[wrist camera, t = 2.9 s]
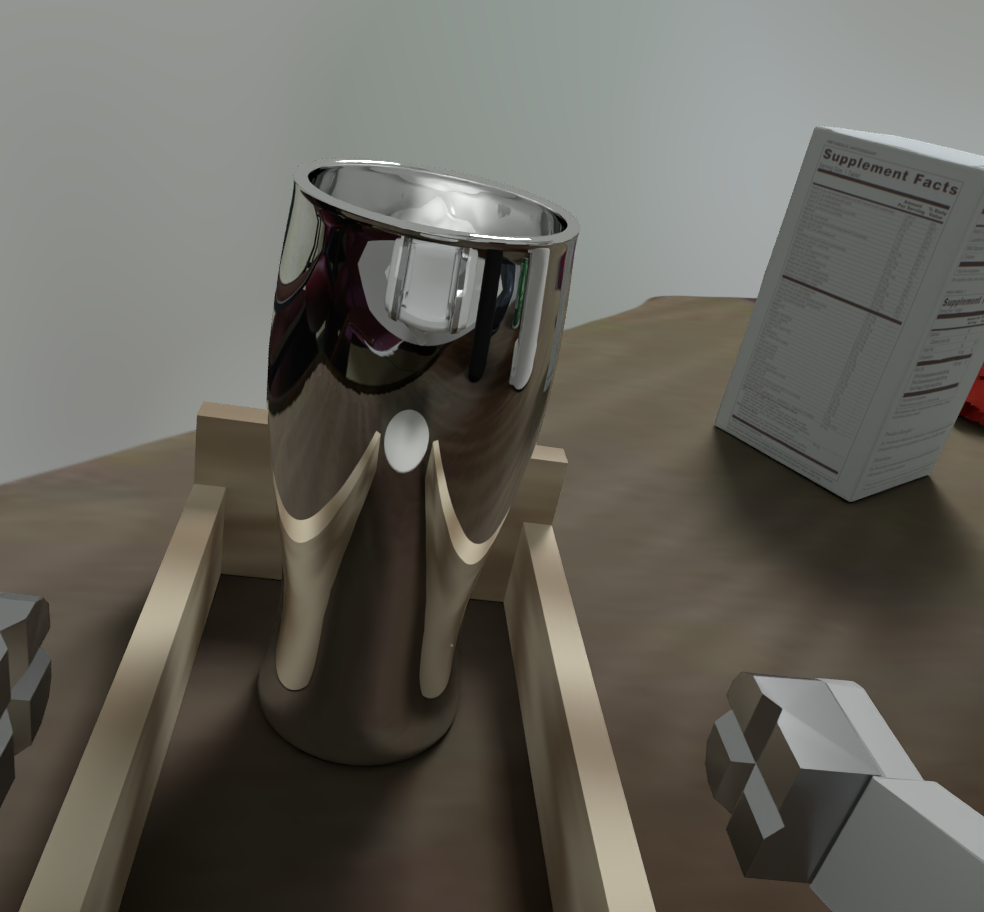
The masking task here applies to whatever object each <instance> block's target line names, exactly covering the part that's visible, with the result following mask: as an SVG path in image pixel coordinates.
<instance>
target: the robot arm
mask: <svg viewBox="0 0 984 912" xmlns="http://www.w3.org/2000/svg"><path fill="white" fill-rule="evenodd" d="M49 629H50V615H49V603H48V602H47V601H46V600H45V599H44V598H43V597H36V596H28V595H20V594H13V593H5V592H0V807H1V805H2V803H3V801H4V799H5V797H6V795H7V793H8V791H9V789H10V787H11V785H12V783H13V781H14V779H15V766H14V756H15V755H16V754H18V753H19V752H21V751H22V750H24V749H26V748H27V747H29V746H30V745H31V744H32V742H33V740H34V738H35V736H36V734H37V732H38V729H39V727H40V725H41V723H42V719H43V716H44V712H45V709H46V705H47V702H48V698H49V692H50V684H51V658H50V657H49V656H48V655H47V654H46V653H45V651H44V650H43V649H42V648H41V647H40V646H41V644H42V642H43V640H44V638H45V636H46V635H47V633H48V631H49ZM726 696H727V699H728V701H729V704H730V706H731V709H732V710H730V711H729V712H728V713H726V714H725V715H723V716H722V717H721V718H719V719H718V720H716V721H715V722H714V724H713V727H712V730H711V732H710V735H709V737H708V740H707V745H706V759H705V766H706V773H707V779H708V783H709V786H710V788H711V791H712V794H713V797H714V799H715V800H717V801H718V802H719V803H720V804H721V805H722V806H723V807H724V808H725V809H726V810H727V811H728V812H729V813H731V814H732V815H731V817H730V820H729V822H728V825H727V827H726V831H727V834H728V836H729V839H730V841H731V844H732V846H733V849H734V852H735V854H736V857H737V859H738V862H739V864H740V867H741V870H742V872H743V875H744V877H745V878H756V879H767V880H778V881H789V882H800V883H811V886H810V888H811V889H812V890H813V891H814V892H815V893H816V894H817V895H818V896H819V898H820V899H821V900H822V901H823V902H824V903H825V904H826V905H827V906H828V907H829V909H830V910H831V911H832V912H984V817H983V816H982V815H980V814H979V813H978V812H976V811H975V810H973V809H972V808H971V807H969V806H968V805H967V804H965V803H964V802H962V801H961V800H960V799H958V798H957V797H956V796H954V795H953V794H951V793H950V792H949V791H947V790H946V789H944V788H943V787H942V786H940V785H939V784H938V783H936V782H932V781H924V780H923V778H922V777H921V775H920V774H919V772H918V771H917V769H916V768H915V766H914V765H913V763H912V762H911V760H910V759H909V757H908V756H907V754H906V753H905V751H904V750H903V748H902V747H901V745H900V744H899V742H898V740H897V739H896V737H895V736H894V734H893V733H892V731H891V730H890V728H889V727H888V725H887V724H886V722H885V721H884V719H883V718H882V716H881V715H880V713H879V712H878V710H877V709H876V707H875V706H874V704H873V702H872V701H871V699H870V698H869V696H868V695H867V693H866V692H865V690H864V689H863V688H862V687H861V686H859V685H858V684H856V683H855V682H853V681H844V680H832V679H820V678H816V679H809V678H799V677H789V676H779V675H769V674H759V673H749V672H741V673H740V674H739V675H738V676H737V677H736V678H735V679H734V680H733V681H732V684H731V686H730V688H729V690H728V692H727V695H726Z"/></svg>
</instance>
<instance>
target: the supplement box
mask: <svg viewBox="0 0 984 912" xmlns="http://www.w3.org/2000/svg"><path fill="white" fill-rule="evenodd" d="M983 362H984V156H981V155H977V154H973V153H969V152H965V151H961V150H956V149H952V148H948V147H943V146H939V145H935V144H931V143H927V142H922V141H918V140H913V139H908V138H904V137H899V136H895V135H889V134H879V133H878V134H877V133H870V132H863V131H856V130H849V129H843V128H835V127H826V126H816V127H815V129H814V131H813V134H812V137H811V140H810V143H809V146H808V149H807V151H806V154H805V157H804V160H803V163H802V166H801V169H800V172H799V175H798V178H797V181H796V184H795V187H794V190H793V193H792V196H791V199H790V202H789V205H788V208H787V211H786V214H785V217H784V220H783V223H782V225H781V228H780V231H779V235H778V237H777V240H776V243H775V245H774V248H773V251H772V255H771V258H770V260H769V263H768V266H767V269H766V271H765V274H764V278H763V281H762V284H761V288H760V291H759V294H758V297H757V300H756V303H755V306H754V308H753V311H752V314H751V317H750V320H749V323H748V326H747V329H746V332H745V334H744V337H743V341H742V344H741V347H740V350H739V352H738V355H737V358H736V361H735V364H734V367H733V370H732V373H731V376H730V379H729V382H728V385H727V387H726V390H725V393H724V396H723V399H722V402H721V405H720V408H719V411H718V414H717V417H716V420H715V426H717V427H719V428H721V429H722V430H724V431H726V432H728V433H729V434H731V435H733V436H735V437H737V438H738V439H740V440H742V441H744V442H745V443H747V444H749V445H751V446H752V447H754V448H756V449H758V450H759V451H761V452H763V453H765V454H766V455H768V456H770V457H772V458H773V459H775V460H777V461H779V462H780V463H782V464H784V465H786V466H787V467H789V468H791V469H793V470H794V471H796V472H798V473H800V474H801V475H803V476H805V477H807V478H808V479H810V480H812V481H814V482H815V483H817V484H819V485H820V486H822V487H824V488H826V489H828V490H829V491H831V492H833V493H835V494H836V495H838V496H840V497H842V498H844V499H845V500H847V501H849V502H852V501H856V500H858V499H861V498H864V497H867V496H870V495H872V494H875V493H878V492H881V491H884V490H886V489H889V488H892V487H895V486H897V485H900V484H903V483H906V482H909V481H912V480H914V479H917V478H920V477H923V476H926V475H929V474H931V473H932V471H933V468H934V466H935V464H936V462H937V460H938V458H939V455H940V453H941V451H942V449H943V447H944V445H945V443H946V441H947V438H948V436H949V434H950V432H951V430H952V428H953V426H954V424H955V421H956V419H957V417H958V415H959V413H960V411H961V409H962V407H963V404H964V402H965V400H966V398H967V396H968V394H969V392H970V390H971V387H972V385H973V383H974V381H975V379H976V377H977V375H978V373H979V371H980V368H981V366H982V364H983Z"/></svg>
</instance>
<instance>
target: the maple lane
mask: <svg viewBox="0 0 984 912" xmlns="http://www.w3.org/2000/svg"><path fill="white" fill-rule="evenodd" d="M567 465H568V461H567V458H566V456H565V453H564V450H563V449H560V448H552V447H545V446H537V445H536V446H535V449H534V452H533V454H532V457H531V459H530V462H529V464H528V467H527V470H526V472H525V475H524V477H523V480H522V482H521V485H520V488H519V490H518V492H517V495H516V497H515V499H514V501H513V504H512V506H511V508H510V510H509V512H508V515H507V517H506V519H505V521H504V523H503V526H502V528H501V530H500V532H499V534H498V537H497V539H496V541H495V543H494V545H493V547H492V549H491V551H490V554H489V556H488V558H487V560H486V562H485V564H484V566H483V569H482V571H481V573H480V576H479V578H478V580H477V583H476V585H475V587H474V590H473V592H472V594H471V597H470V599H479V600H489V601H499V602H504V608H505V614H506V620H507V627H508V633H509V639H510V645H511V652H512V658H513V664H514V670H515V676H516V683H517V689H518V695H519V701H520V708H521V714H522V720H523V726H524V733H525V739H526V745H527V751H528V757H529V764H530V770H531V776H532V782H533V789H534V795H535V801H536V807H537V814H538V820H539V826H540V832H541V838H542V845H543V851H544V857H545V863H546V870H547V876H548V882H549V888H550V895H551V901H552V907H553V912H656V911H655V907H654V903H653V900H652V896H651V892H650V889H649V885H648V881H647V877H646V874H645V870H644V866H643V863H642V859H641V855H640V852H639V848H638V844H637V840H636V837H635V833H634V829H633V826H632V822H631V818H630V814H629V811H628V807H627V803H626V800H625V796H624V792H623V789H622V785H621V781H620V777H619V774H618V770H617V766H616V763H615V759H614V755H613V751H612V748H611V744H610V740H609V737H608V733H607V729H606V726H605V722H604V718H603V714H602V711H601V707H600V703H599V700H598V696H597V692H596V688H595V685H594V681H593V677H592V674H591V670H590V666H589V663H588V659H587V655H586V651H585V648H584V644H583V640H582V637H581V633H580V629H579V625H578V622H577V618H576V614H575V611H574V607H573V603H572V600H571V596H570V592H569V588H568V585H567V581H566V577H565V574H564V570H563V566H562V562H561V559H560V555H559V551H558V548H557V544H556V540H555V537H554V533H553V529H552V521H553V518H554V514H555V510H556V506H557V503H558V499H559V495H560V491H561V488H562V484H563V480H564V476H565V473H566V469H567ZM221 574H229V575H239V576H249V577H259V578H269V579H279V580H282V565H281V554H280V542H279V532H278V524H277V516H276V508H275V499H274V491H273V481H272V472H271V463H270V454H269V439H268V420H267V410H264V409H257V408H249V407H242V406H233V405H227V404H219V403H211V402H203V403H202V406H201V408H200V410H199V412H198V414H197V429H196V453H195V478H194V486H193V488H192V490H191V493H190V495H189V498H188V500H187V503H186V505H185V507H184V510H183V512H182V515H181V517H180V520H179V522H178V525H177V527H176V529H175V532H174V534H173V537H172V539H171V542H170V544H169V546H168V549H167V551H166V554H165V556H164V559H163V561H162V564H161V566H160V568H159V571H158V573H157V576H156V578H155V581H154V583H153V586H152V588H151V590H150V593H149V595H148V598H147V600H146V603H145V605H144V607H143V610H142V612H141V615H140V617H139V620H138V622H137V625H136V627H135V629H134V632H133V634H132V637H131V639H130V642H129V644H128V647H127V649H126V651H125V654H124V656H123V659H122V661H121V664H120V666H119V668H118V671H117V673H116V676H115V678H114V681H113V683H112V686H111V688H110V690H109V693H108V695H107V698H106V700H105V703H104V705H103V707H102V710H101V712H100V715H99V717H98V720H97V722H96V725H95V727H94V729H93V732H92V734H91V737H90V739H89V742H88V744H87V747H86V749H85V751H84V754H83V756H82V759H81V761H80V764H79V766H78V768H77V771H76V773H75V776H74V778H73V781H72V783H71V786H70V788H69V790H68V793H67V795H66V798H65V800H64V803H63V805H62V808H61V810H60V812H59V815H58V817H57V820H56V822H55V825H54V827H53V829H52V832H51V834H50V837H49V839H48V842H47V844H46V847H45V849H44V851H43V854H42V856H41V859H40V861H39V864H38V866H37V869H36V871H35V873H34V876H33V878H32V881H31V883H30V886H29V888H28V890H27V893H26V895H25V898H24V900H23V903H22V905H21V908H20V910H19V912H118V910H119V907H120V903H121V900H122V897H123V894H124V890H125V887H126V884H127V880H128V877H129V874H130V871H131V867H132V864H133V861H134V857H135V854H136V851H137V848H138V844H139V841H140V838H141V834H142V831H143V828H144V825H145V821H146V818H147V815H148V811H149V808H150V805H151V802H152V798H153V795H154V792H155V788H156V785H157V782H158V779H159V775H160V772H161V769H162V765H163V762H164V759H165V755H166V752H167V749H168V746H169V742H170V739H171V736H172V732H173V729H174V726H175V723H176V719H177V716H178V713H179V709H180V706H181V703H182V700H183V696H184V693H185V690H186V686H187V683H188V680H189V677H190V673H191V670H192V667H193V663H194V660H195V657H196V654H197V650H198V647H199V644H200V640H201V637H202V634H203V631H204V627H205V624H206V621H207V617H208V614H209V611H210V607H211V604H212V601H213V598H214V594H215V591H216V588H217V584H218V581H219V578H220V575H221Z"/></svg>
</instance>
